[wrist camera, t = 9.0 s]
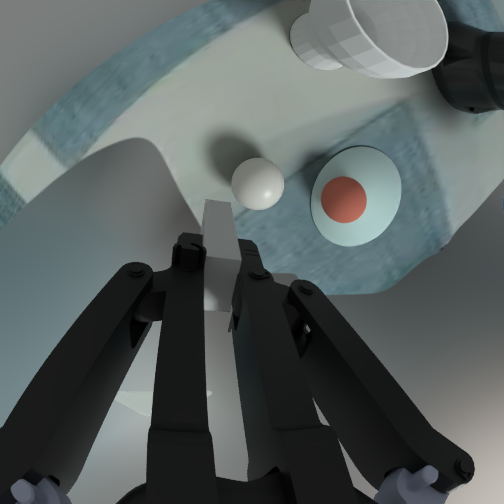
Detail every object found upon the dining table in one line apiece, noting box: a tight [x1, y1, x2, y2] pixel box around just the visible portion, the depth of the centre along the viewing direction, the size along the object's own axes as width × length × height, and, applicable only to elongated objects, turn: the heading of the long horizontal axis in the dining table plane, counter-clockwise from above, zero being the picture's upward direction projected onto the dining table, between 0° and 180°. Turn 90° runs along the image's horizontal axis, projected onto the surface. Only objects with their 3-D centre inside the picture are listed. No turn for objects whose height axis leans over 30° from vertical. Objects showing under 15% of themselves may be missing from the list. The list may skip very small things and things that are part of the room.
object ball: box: [321, 176, 367, 223], centre depth 31 cm, size 6×6×6 cm
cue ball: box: [231, 158, 284, 210], centre depth 29 cm, size 6×6×6 cm
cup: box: [290, 0, 448, 78], centre depth 17 cm, size 11×11×15 cm
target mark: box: [311, 147, 401, 246], centre depth 35 cm, size 14×14×1 cm
